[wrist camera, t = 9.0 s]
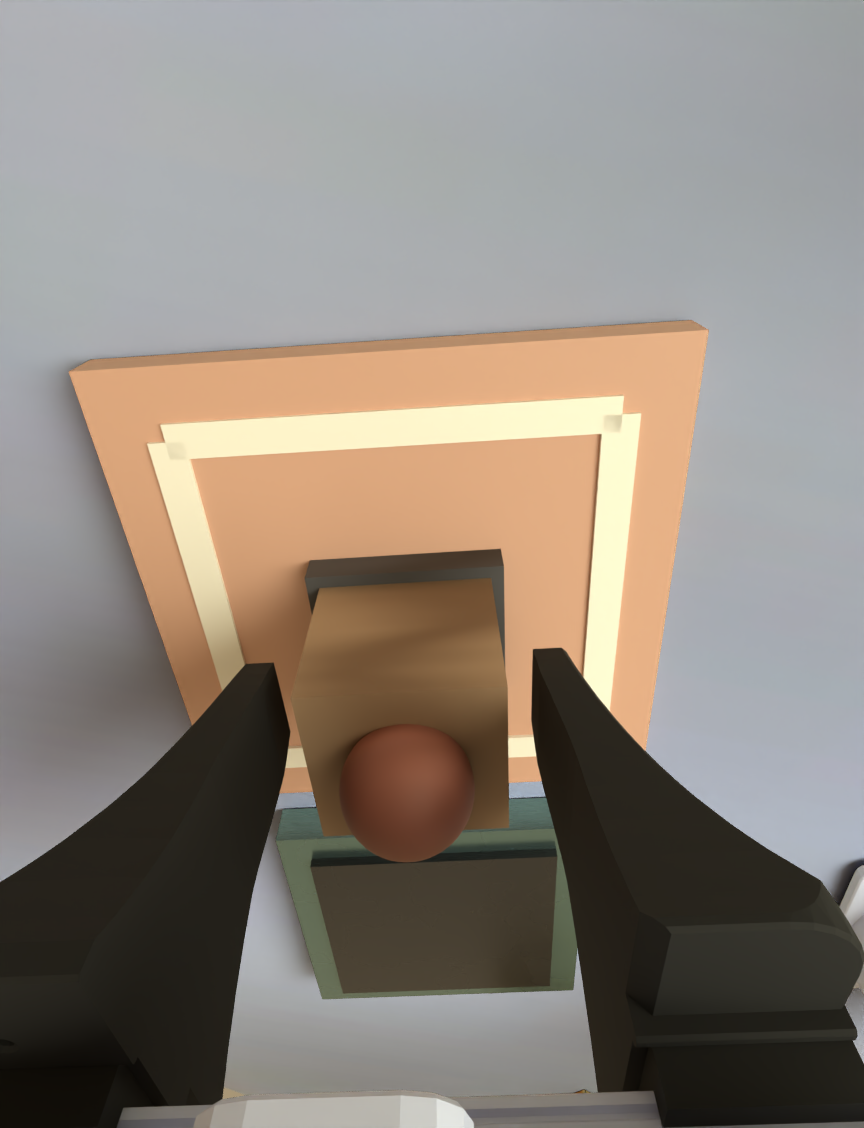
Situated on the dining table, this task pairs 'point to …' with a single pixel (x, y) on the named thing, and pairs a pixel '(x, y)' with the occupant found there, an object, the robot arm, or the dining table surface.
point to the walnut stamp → (406, 699)
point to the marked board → (408, 493)
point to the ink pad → (434, 910)
